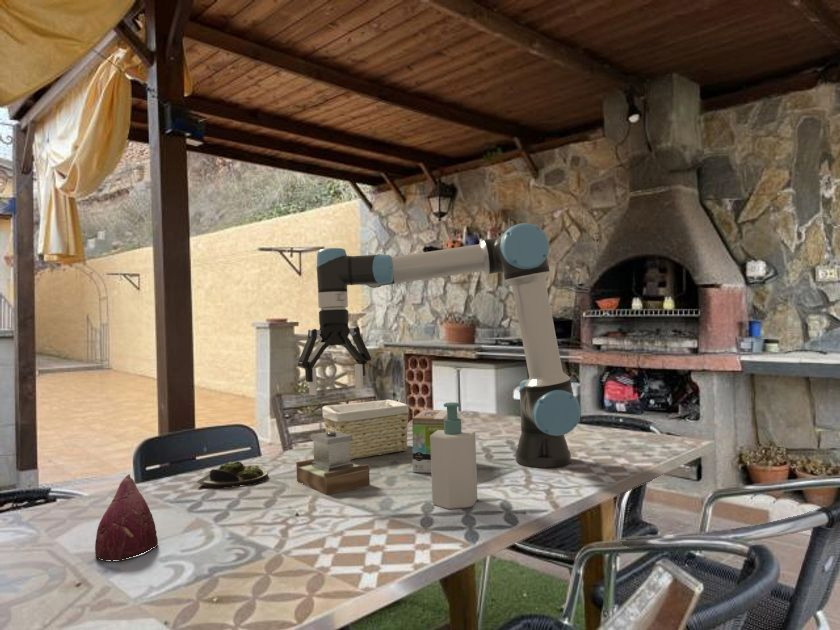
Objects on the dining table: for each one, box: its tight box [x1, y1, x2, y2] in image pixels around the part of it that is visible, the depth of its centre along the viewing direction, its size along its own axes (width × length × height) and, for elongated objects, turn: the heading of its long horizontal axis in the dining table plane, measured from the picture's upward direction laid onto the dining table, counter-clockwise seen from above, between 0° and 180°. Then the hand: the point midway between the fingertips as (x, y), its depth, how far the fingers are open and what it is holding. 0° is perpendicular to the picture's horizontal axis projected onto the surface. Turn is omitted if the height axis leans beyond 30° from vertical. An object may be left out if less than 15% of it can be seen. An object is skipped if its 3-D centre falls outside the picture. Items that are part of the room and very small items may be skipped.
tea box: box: [411, 409, 447, 474], centre depth 166 cm, size 15×10×15 cm, turn 168°
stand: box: [295, 458, 371, 496], centre depth 152 cm, size 16×12×5 cm
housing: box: [310, 431, 354, 472], centre depth 152 cm, size 7×9×9 cm
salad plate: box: [196, 460, 269, 489], centre depth 161 cm, size 19×18×5 cm
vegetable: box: [94, 474, 159, 561], centre depth 112 cm, size 10×10×15 cm
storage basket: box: [322, 399, 410, 460], centre depth 187 cm, size 24×16×15 cm
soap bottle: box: [430, 402, 478, 510], centre depth 133 cm, size 10×9×22 cm
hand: (336, 391), depth 154 cm, fingers open, 13 cm apart
